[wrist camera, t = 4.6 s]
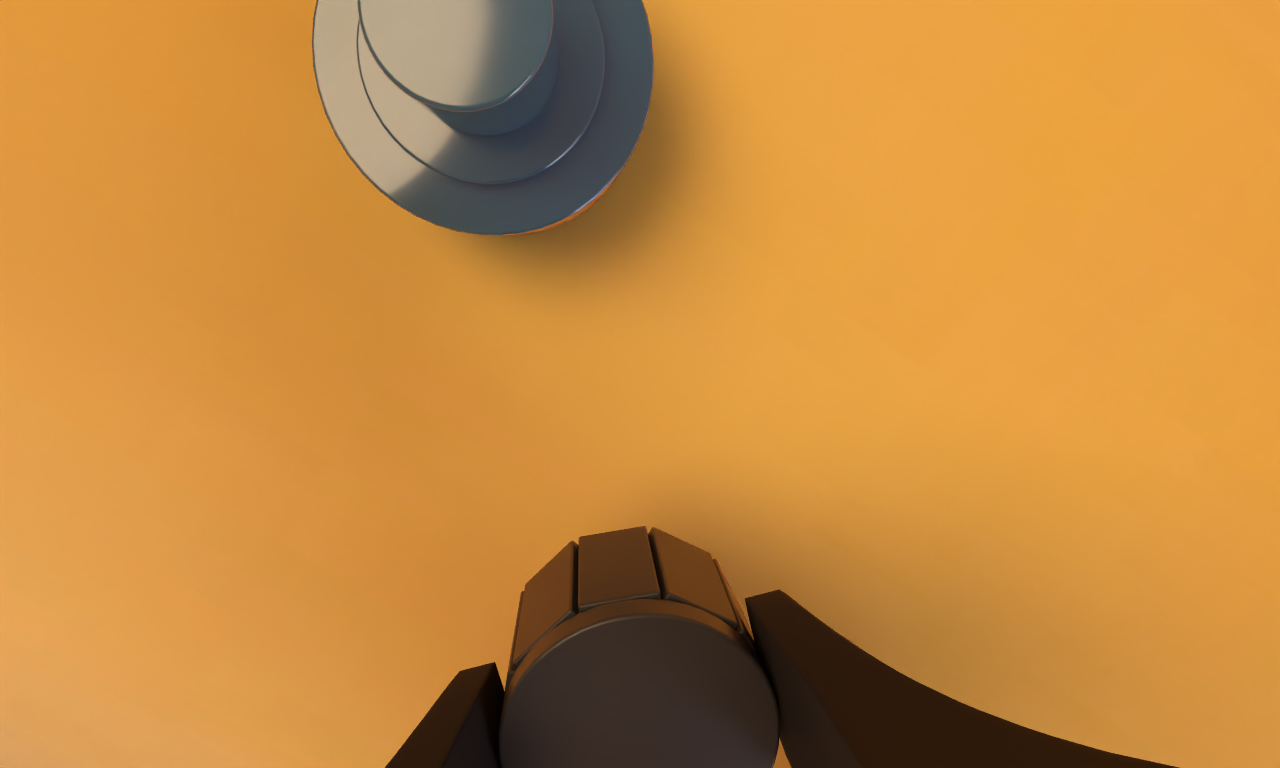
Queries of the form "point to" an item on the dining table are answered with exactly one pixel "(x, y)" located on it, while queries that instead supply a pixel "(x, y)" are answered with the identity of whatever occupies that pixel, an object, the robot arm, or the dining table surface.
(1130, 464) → the dining table surface
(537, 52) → the bottle
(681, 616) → the cap
